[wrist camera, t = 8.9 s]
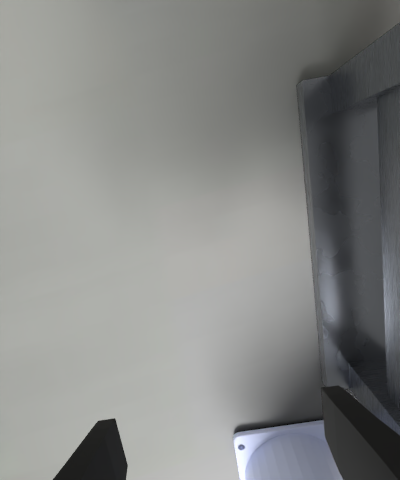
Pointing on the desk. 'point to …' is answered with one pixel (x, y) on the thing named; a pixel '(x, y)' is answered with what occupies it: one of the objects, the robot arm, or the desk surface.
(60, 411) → the desk surface
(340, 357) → the rail stand
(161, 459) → the desk surface
